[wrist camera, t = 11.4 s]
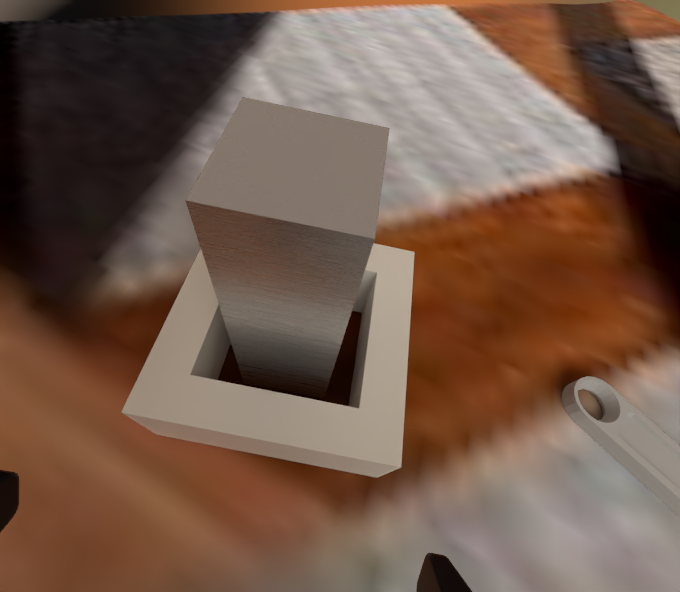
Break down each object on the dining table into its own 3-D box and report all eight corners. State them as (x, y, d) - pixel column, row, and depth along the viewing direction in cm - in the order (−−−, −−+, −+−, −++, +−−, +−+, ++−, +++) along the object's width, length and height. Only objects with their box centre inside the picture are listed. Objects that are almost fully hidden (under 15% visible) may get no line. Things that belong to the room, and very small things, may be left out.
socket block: (377, 477, 16) (401, 467, 13) (156, 434, 16) (121, 412, 12) (394, 293, 21) (414, 251, 18) (229, 259, 21) (218, 210, 18)
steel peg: (323, 398, 18) (374, 238, 8) (243, 383, 18) (185, 200, 7) (336, 327, 20) (389, 128, 10) (265, 313, 20) (242, 97, 10)
